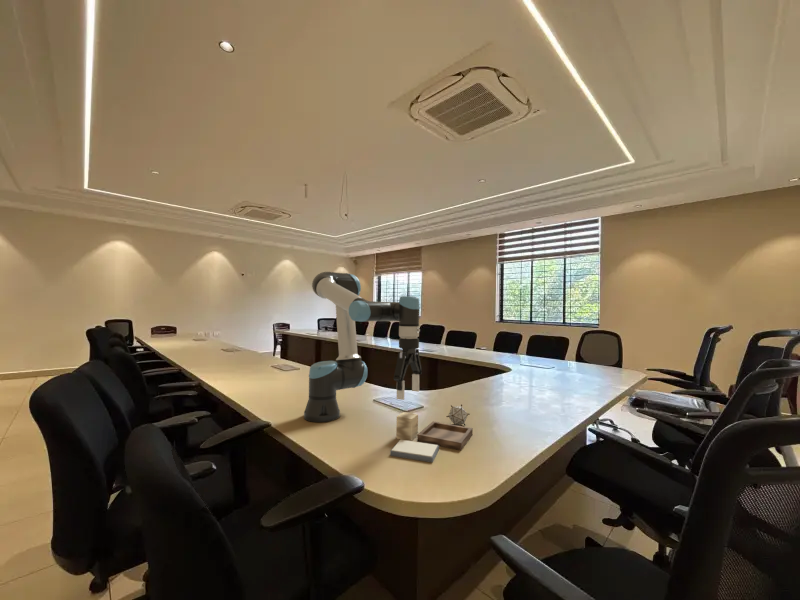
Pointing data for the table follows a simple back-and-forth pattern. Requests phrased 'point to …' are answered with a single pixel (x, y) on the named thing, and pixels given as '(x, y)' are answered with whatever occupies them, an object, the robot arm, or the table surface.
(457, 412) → the game die
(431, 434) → the walnut tray
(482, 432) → the table surface
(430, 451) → the white grey flat slab
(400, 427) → the beech block
